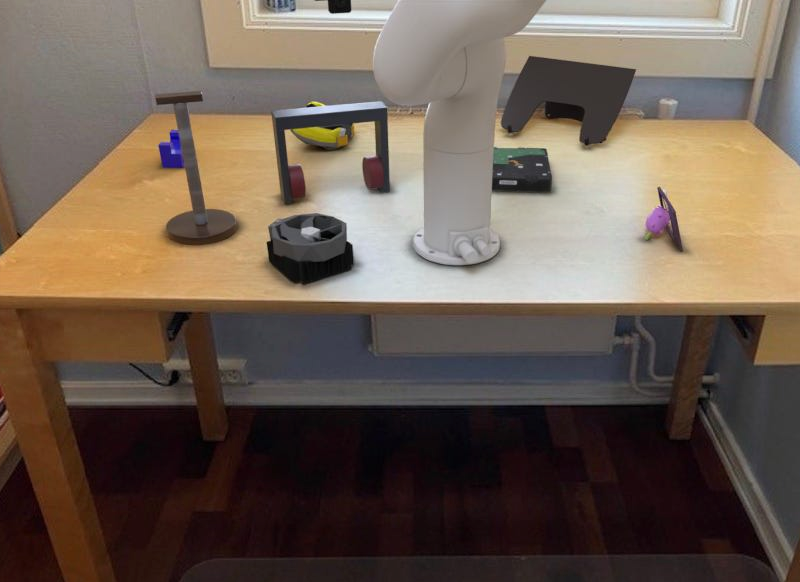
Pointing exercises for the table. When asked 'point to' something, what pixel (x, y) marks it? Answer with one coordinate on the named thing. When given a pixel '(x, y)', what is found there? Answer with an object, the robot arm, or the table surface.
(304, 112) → the headset
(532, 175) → the disk drive
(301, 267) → the cpu cooler
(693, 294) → the table surface
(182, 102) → the stand
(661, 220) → the purple piece
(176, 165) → the cable holder
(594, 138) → the laptop tray
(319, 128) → the gaming controller
